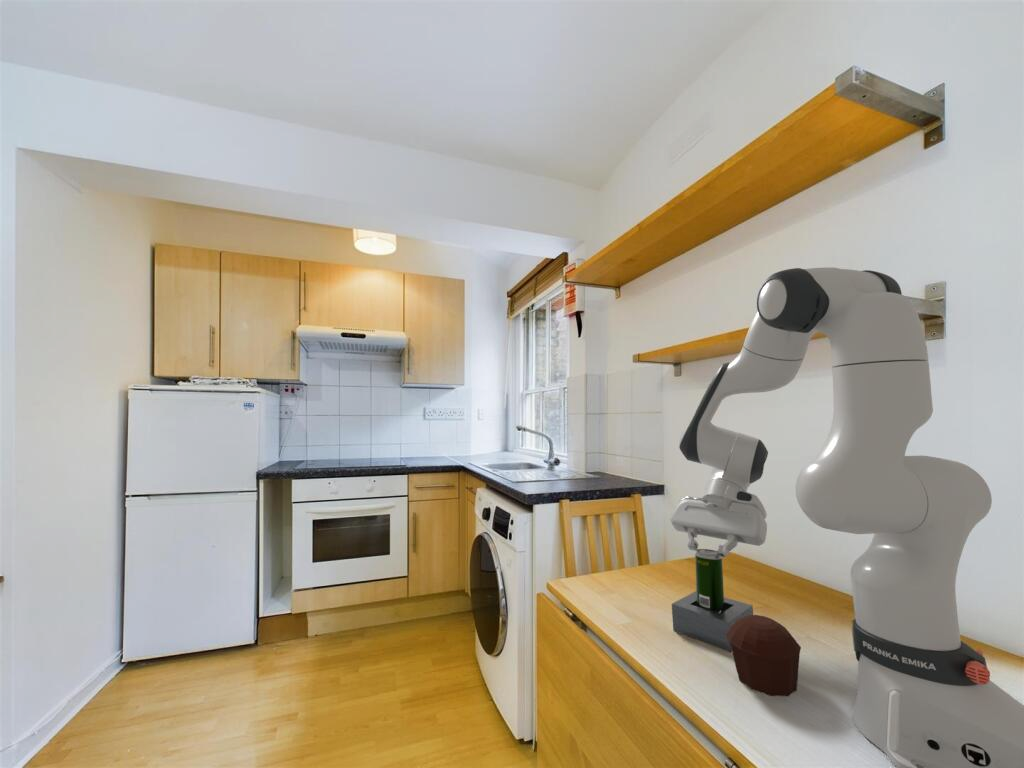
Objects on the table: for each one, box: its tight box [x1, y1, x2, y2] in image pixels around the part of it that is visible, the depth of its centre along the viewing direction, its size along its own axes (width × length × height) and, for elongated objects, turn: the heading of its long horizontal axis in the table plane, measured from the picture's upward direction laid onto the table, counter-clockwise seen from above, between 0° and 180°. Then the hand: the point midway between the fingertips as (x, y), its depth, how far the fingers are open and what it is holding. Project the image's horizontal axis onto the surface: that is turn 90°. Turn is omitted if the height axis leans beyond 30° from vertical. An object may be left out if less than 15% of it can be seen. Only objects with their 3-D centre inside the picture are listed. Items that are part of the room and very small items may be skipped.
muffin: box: [726, 614, 802, 697], centre depth 72 cm, size 12×11×10 cm
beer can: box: [694, 548, 725, 614], centre depth 90 cm, size 5×5×12 cm
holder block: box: [671, 590, 754, 653], centre depth 90 cm, size 12×12×6 cm
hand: (706, 551), depth 91 cm, fingers open, 5 cm apart
